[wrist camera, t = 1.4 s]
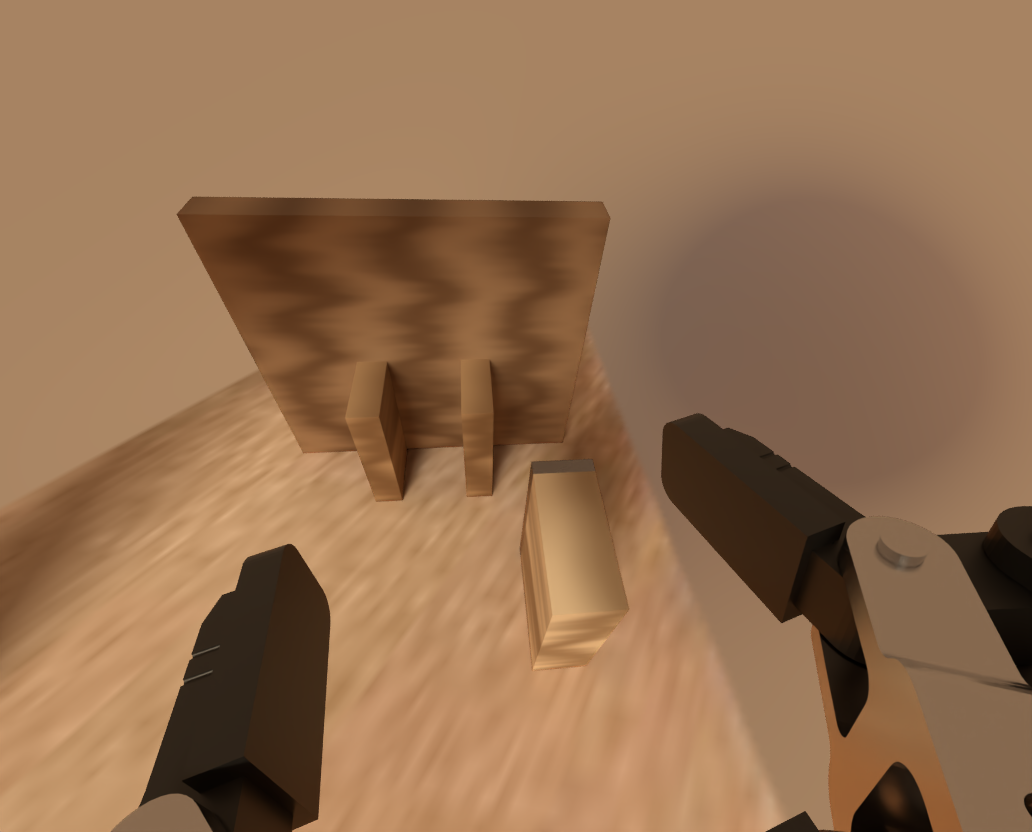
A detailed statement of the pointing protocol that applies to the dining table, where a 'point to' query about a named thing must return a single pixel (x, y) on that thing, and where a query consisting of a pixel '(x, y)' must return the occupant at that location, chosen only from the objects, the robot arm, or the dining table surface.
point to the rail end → (568, 566)
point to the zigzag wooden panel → (408, 318)
